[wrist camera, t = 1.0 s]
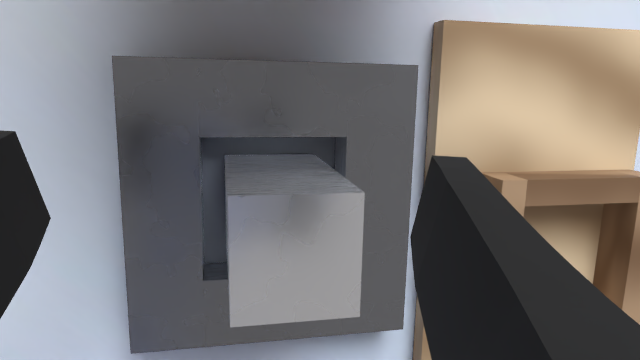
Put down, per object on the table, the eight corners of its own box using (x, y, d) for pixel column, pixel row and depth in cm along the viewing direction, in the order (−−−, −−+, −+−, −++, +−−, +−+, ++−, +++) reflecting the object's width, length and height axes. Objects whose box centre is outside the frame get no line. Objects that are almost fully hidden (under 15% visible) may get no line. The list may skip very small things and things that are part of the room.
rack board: (590, 357, 28) (634, 389, 25) (411, 377, 25) (436, 415, 22) (637, 33, 24) (694, 26, 21) (434, 22, 22) (467, 13, 19)
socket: (388, 309, 24) (402, 329, 22) (138, 329, 22) (130, 353, 20) (400, 66, 22) (418, 65, 20) (122, 58, 19) (112, 55, 17)
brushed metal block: (311, 237, 23) (359, 316, 15) (226, 241, 22) (229, 327, 14) (313, 154, 22) (364, 192, 14) (224, 155, 21) (228, 196, 13)
